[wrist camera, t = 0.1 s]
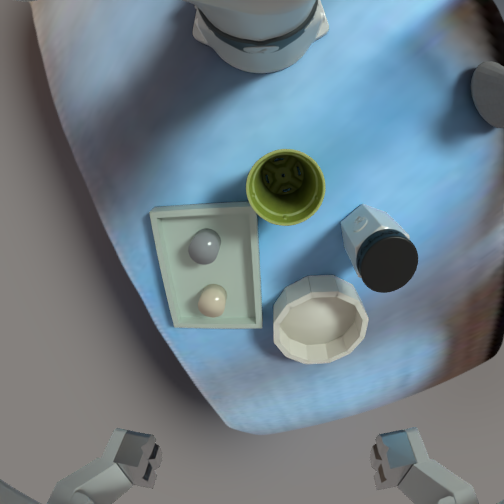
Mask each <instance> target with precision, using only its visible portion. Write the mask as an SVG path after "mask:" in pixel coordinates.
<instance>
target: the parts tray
mask: <svg viewBox="0 0 504 504" xmlns="http://www.w3.org/2000/svg"><path fill="white" fill-rule="evenodd" d="M149 213H150V219H151V224H152V230H153V235H154V240H155V245H156V250H157V255H158V260H159V265H160V269H161V274H162V278H163V283H164V287H165V291H166V296H167V300H168V304H169V308H170V312H171V316H172V320H173V324H174V327H179V328H236V329H238V328H262V322H263V318H262V297H261V277H260V257H259V237H258V218H257V213H256V212H255V211H254V210H253V208H252V207H251V205H250V203H249V201H247V202H225V203H206V204H190V205H175V206H161V207H154V208H153V209H152V210H151V211H150V212H149ZM204 228H208V229H212V230H214V231H216V232H217V233H218V234H219V236H220V238H221V246H220V249H219V252H218V255H217V258H216V259H215V261H213V262H212V263H210V264H207V265H202V264H198V263H196V262H195V261H193V260H192V259H191V257H190V255H189V252H188V248H189V245H190V243H191V241H192V239H193V237H194V236H195V234H196V233H197V232H198V231H199V230H201V229H204ZM209 284H218V285H220V286H222V287H223V288H224V289H225V290H226V292H227V300H226V305H225V309H224V312H223V314H222V315H220V316H219V317H215V318H211V317H207V316H205V315H203V314H202V313H201V312H200V311H199V309H198V302H199V299H200V296H201V293H202V290H203V288H204V287H205V286H207V285H209Z"/></svg>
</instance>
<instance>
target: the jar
mask: <svg viewBox="0 0 504 504" xmlns="http://www.w3.org/2000/svg"><path fill="white" fill-rule="evenodd" d="M341 229H342V236H343V243H344V248H345V250H346V252H347V254H348V256H349V258H350V261H351V263H352V265H353V267H354V269H355V271H356V273H357V275H358V277H360V278H362V280H363V282H364V283H365V285H366V286H367V287H368V288H370V289H371V290H373V291H376V292H381V293H386V292H392V291H395V290H397V289H399V288H401V287H403V286H404V285H405V284H406V283H407V282H408V281H409V280H410V279H411V278H412V276H413V275H414V273H415V271H416V268H417V264H418V253H417V250H416V248H415V246H414V244H413V243H412V242H411V241H410V238H409V234H408V233H407V232H406V231H405V230H404V229H403V228H402V227H401V226H400V225H399V224H398V223H397V222H396V221H395V220H394V219H393V218H392V217H391V216H390V215H389V214H388V213H387V212H385V211H382V210H379V209H376V208H374V207H371V206H368V205H365V204H361V205H360V206H359V207H358V208H356V209H355V210H354V211H353V212H352V213H351V214H349V215H348V216H347V217H346V218H345V219H344V220H342V221H341Z"/></svg>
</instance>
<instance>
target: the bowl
mask: <svg viewBox="0 0 504 504" xmlns="http://www.w3.org/2000/svg"><path fill="white" fill-rule="evenodd" d="M368 319H369V318H368V316H367V313H366V311H365V308H364V306H363V303H362V301H361V299H360V297H359V295H358V293H357V292H356V290H355V288H354V286H353V285H352V284H350V283H348V282H346V281H344V280H342V279H340V278H338V277H336V276H334V275H314V276H306V277H304V278H303V279H301V280H299V281H297V282H295V283H293V284H291V285H289V286H287V287H285V289H284V290H283V292H282V293H281V295H280V296H279V298H278V299H277V301H276V302H275V304H274V305H273V325H274V343H275V344H276V346H277V347H278V348H279V349H280V350H281V352H282V353H283V354H284V355H285V356H286V357H287V358H290V359H293V360H296V361H299V362H301V363H304V364H319V363H330V362H332V361H334V360H337V359H339V358H341V357H343V356H346V355H348V354H350V353H351V352H352V351H353V350H354V349H355V348H356V347H357V345H358V344H359V343H360V342H361V341H362V340H363V339H364V337H365V334H366V329H367V324H368Z"/></svg>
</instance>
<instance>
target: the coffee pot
mask: <svg viewBox="0 0 504 504" xmlns="http://www.w3.org/2000/svg"><path fill="white" fill-rule="evenodd" d="M471 93H472V98H473V101H474V104H475V106H476V108H477V110H478V112H479V113H480V115H481V116H482V118H483V119H484V120H486V121H487V122H488V123H489V124H490V125H492V126H494V127H496V128H504V67H503V66H501V65H500V64H498V63H496V62H491V61H487V62H483V63H482V64H480V65H479V66H478V67H477V68H476V70H475V71H474V73H473V76H472V79H471Z"/></svg>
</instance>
